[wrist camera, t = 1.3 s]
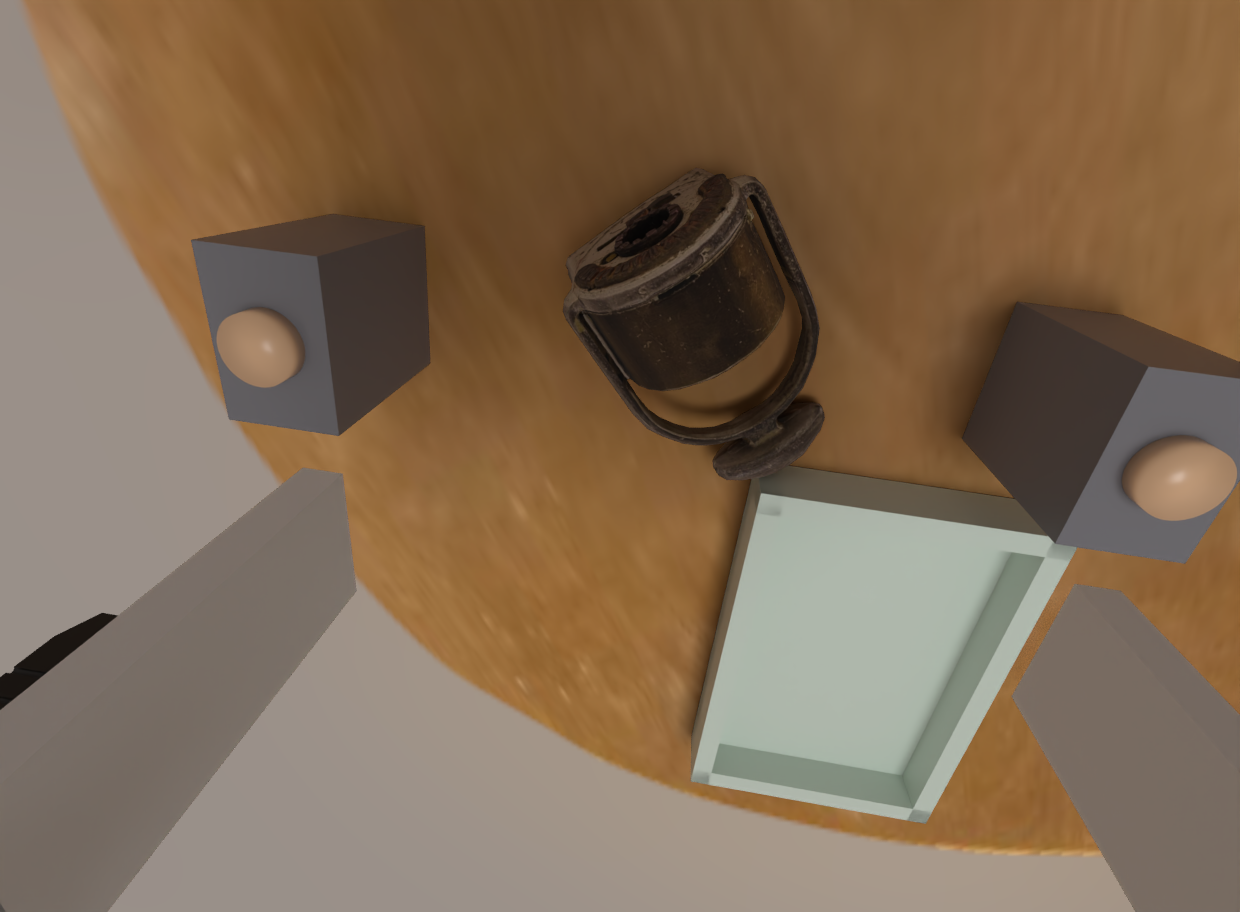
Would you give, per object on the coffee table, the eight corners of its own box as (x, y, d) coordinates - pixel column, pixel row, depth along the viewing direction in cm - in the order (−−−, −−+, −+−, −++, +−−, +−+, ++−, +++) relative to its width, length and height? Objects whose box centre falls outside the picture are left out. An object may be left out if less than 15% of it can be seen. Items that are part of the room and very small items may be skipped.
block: (1122, 315, 24) (1327, 397, 16) (1056, 451, 26) (1203, 579, 19) (1017, 301, 24) (1168, 376, 16) (961, 438, 27) (1068, 558, 19)
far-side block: (424, 225, 25) (301, 260, 18) (430, 363, 28) (326, 446, 20) (332, 214, 26) (171, 243, 18) (347, 351, 28) (212, 428, 21)
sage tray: (1044, 503, 28) (1080, 541, 25) (909, 774, 36) (925, 823, 34) (755, 460, 28) (761, 493, 26) (691, 735, 37) (690, 781, 34)
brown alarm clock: (879, 116, 17) (532, 180, 17) (890, 519, 22) (613, 573, 21) (792, 152, 24) (542, 198, 24) (813, 453, 28) (602, 494, 28)
